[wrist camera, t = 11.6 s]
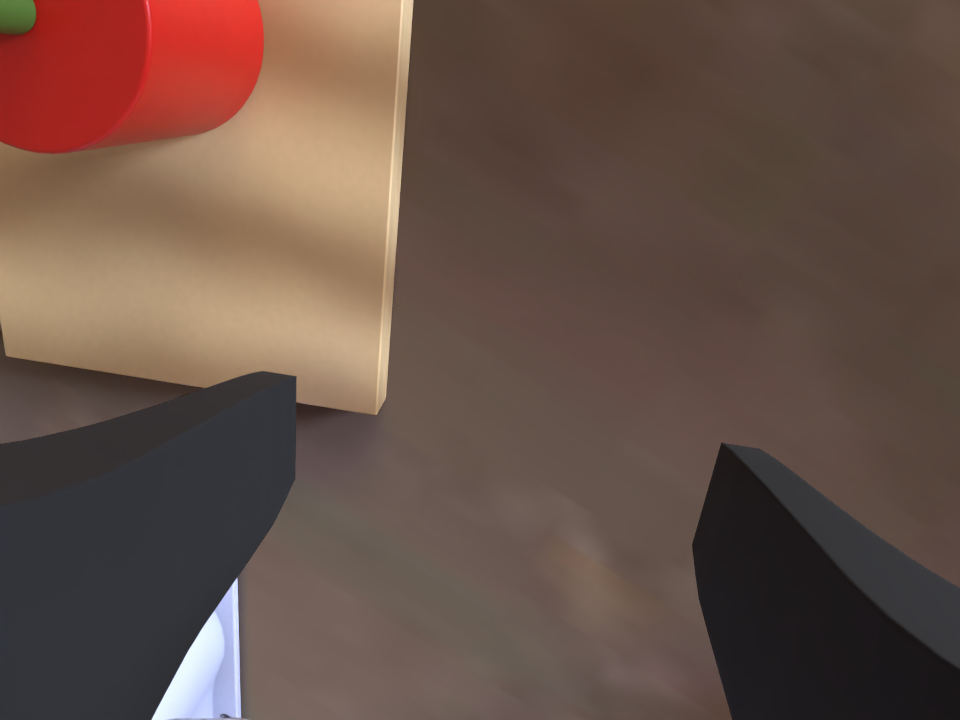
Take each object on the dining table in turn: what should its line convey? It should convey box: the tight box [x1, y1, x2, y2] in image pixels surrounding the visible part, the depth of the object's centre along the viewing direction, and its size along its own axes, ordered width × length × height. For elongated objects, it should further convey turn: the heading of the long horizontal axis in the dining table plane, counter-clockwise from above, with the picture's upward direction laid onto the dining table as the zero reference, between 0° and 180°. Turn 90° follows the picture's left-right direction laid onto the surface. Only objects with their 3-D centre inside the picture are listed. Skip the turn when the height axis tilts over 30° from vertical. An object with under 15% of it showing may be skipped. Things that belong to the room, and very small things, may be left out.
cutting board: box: [0, 0, 413, 415], centre depth 18 cm, size 20×12×1 cm, turn 173°
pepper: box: [0, 0, 264, 154], centre depth 14 cm, size 5×5×7 cm
